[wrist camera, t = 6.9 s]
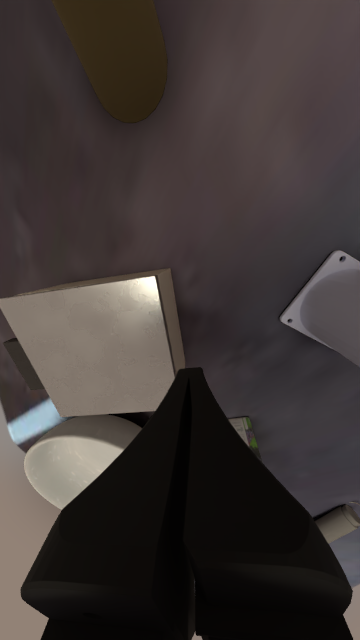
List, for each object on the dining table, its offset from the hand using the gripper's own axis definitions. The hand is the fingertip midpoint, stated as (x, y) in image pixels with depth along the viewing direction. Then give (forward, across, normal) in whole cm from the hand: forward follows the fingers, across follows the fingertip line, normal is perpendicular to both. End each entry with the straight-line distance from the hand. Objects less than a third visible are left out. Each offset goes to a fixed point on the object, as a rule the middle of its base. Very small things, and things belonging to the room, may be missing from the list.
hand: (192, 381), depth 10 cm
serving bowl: (+11, +16, +21) cm, 29 cm away
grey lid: (+4, +9, 0) cm, 10 cm away
